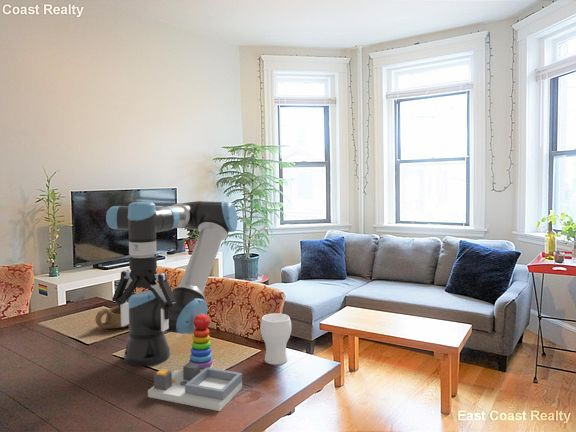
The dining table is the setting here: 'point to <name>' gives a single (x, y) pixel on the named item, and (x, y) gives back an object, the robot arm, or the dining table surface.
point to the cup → (275, 336)
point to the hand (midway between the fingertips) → (144, 327)
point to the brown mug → (110, 318)
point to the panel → (179, 396)
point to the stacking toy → (201, 343)
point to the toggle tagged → (163, 379)
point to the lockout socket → (213, 393)
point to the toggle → (190, 371)
